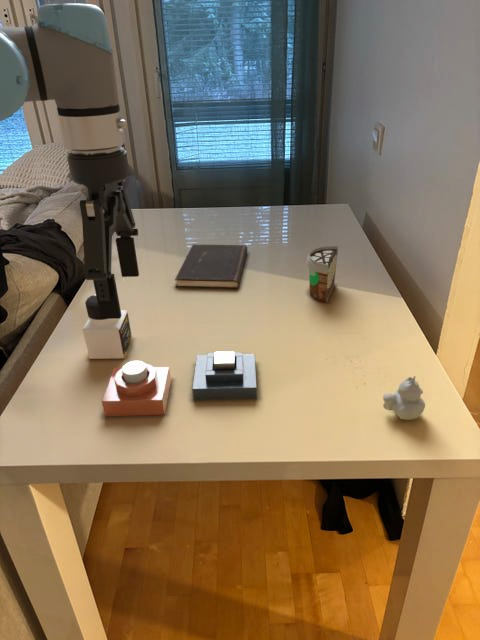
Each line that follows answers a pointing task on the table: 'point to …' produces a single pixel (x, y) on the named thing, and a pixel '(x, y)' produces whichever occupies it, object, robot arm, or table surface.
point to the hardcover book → (212, 267)
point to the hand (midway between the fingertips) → (121, 295)
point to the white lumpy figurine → (406, 400)
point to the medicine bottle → (106, 333)
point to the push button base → (225, 378)
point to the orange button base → (137, 393)
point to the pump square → (224, 361)
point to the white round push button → (134, 372)
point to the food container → (322, 271)
